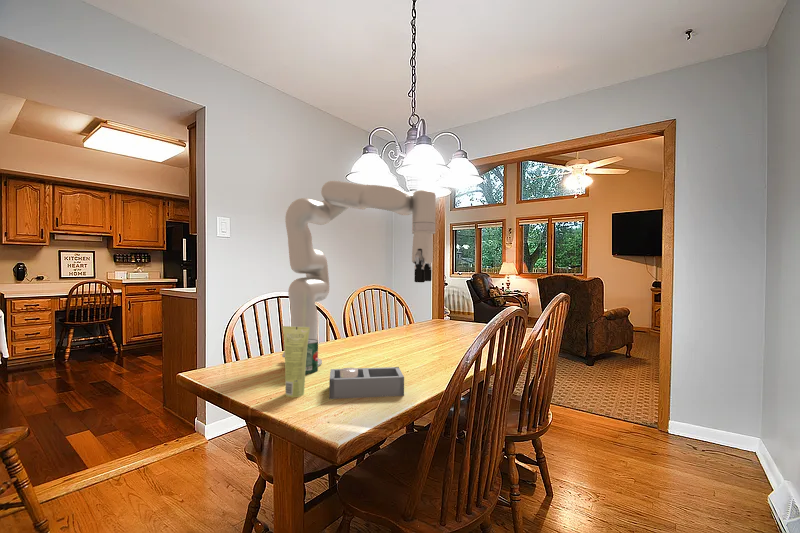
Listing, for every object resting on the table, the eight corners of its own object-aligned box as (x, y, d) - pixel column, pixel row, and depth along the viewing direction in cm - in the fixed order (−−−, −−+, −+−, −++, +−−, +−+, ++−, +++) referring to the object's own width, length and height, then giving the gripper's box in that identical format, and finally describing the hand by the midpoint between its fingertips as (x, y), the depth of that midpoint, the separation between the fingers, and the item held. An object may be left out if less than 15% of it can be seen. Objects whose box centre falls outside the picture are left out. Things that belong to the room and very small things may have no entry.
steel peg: (336, 393, 106) (336, 371, 106) (344, 387, 111) (344, 367, 111) (353, 395, 104) (353, 373, 104) (360, 389, 109) (360, 368, 109)
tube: (301, 392, 109) (301, 324, 109) (309, 397, 105) (310, 326, 105) (282, 397, 106) (282, 326, 105) (289, 402, 102) (290, 328, 102)
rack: (329, 402, 102) (329, 379, 102) (330, 389, 112) (330, 369, 112) (404, 399, 105) (404, 377, 105) (398, 387, 115) (398, 367, 115)
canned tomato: (289, 373, 129) (289, 340, 129) (310, 369, 134) (310, 337, 134) (300, 378, 123) (301, 344, 123) (322, 374, 128) (322, 341, 128)
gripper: (419, 231, 135) (418, 280, 135) (405, 226, 118) (404, 282, 118) (440, 231, 132) (439, 280, 133) (429, 226, 116) (428, 283, 116)
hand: (423, 281), depth 125 cm, fingers open, 9 cm apart
